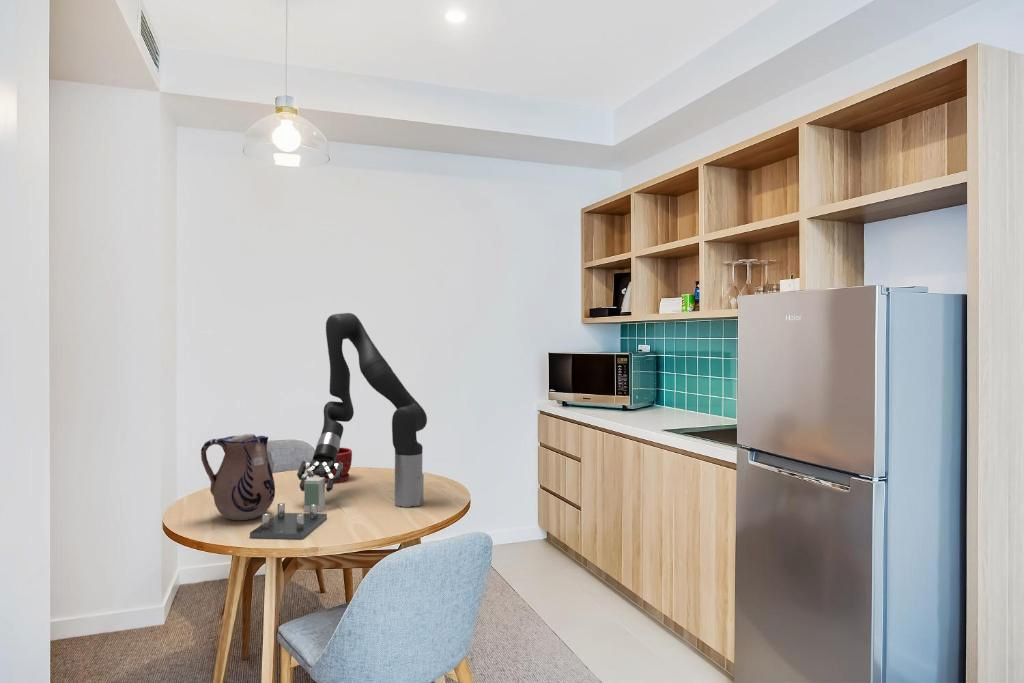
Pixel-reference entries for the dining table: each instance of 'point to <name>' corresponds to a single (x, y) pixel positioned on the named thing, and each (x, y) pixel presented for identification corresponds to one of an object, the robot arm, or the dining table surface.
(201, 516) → the dining table surface
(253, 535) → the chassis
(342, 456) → the plant pot
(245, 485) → the ceramic pitcher
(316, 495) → the block
